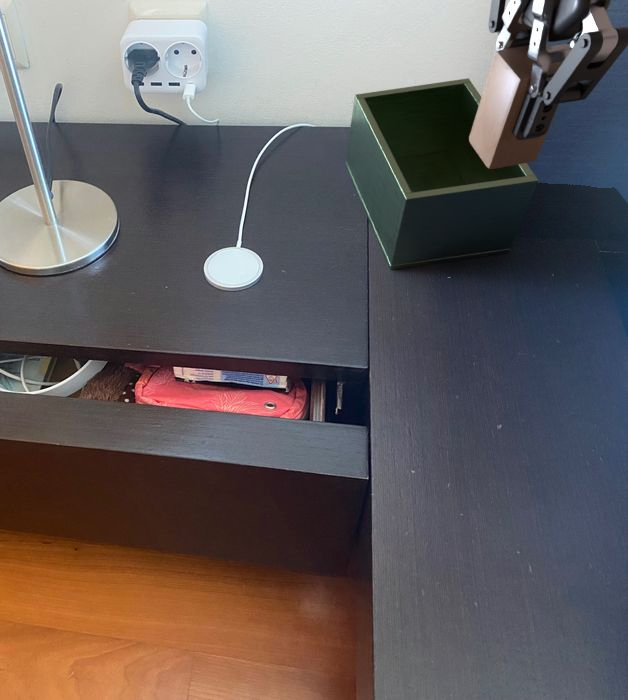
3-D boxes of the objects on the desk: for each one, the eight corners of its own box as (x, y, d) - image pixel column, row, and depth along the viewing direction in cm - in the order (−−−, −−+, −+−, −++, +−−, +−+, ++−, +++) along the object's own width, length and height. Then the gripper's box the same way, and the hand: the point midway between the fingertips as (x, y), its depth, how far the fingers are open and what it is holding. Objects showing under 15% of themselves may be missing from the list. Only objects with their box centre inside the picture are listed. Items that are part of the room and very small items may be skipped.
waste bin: (508, 252, 75) (538, 180, 68) (389, 270, 75) (406, 199, 68) (449, 150, 86) (468, 77, 79) (345, 165, 86) (354, 94, 79)
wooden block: (487, 172, 56) (520, 79, 49) (465, 140, 58) (494, 48, 52) (537, 163, 56) (576, 69, 49) (513, 132, 58) (547, 39, 52)
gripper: (747, -100, 37) (608, 169, 50) (609, -193, 45) (522, 58, 59) (602, -79, 37) (502, 185, 50) (491, -176, 45) (432, 71, 59)
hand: (513, 115), depth 54 cm, fingers closed on wooden block, 4 cm apart
